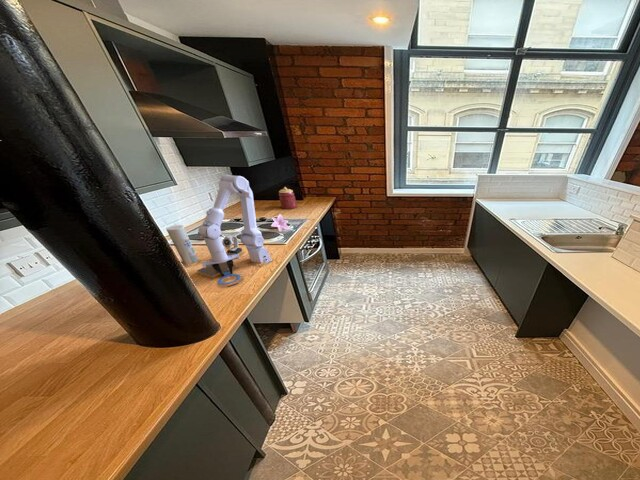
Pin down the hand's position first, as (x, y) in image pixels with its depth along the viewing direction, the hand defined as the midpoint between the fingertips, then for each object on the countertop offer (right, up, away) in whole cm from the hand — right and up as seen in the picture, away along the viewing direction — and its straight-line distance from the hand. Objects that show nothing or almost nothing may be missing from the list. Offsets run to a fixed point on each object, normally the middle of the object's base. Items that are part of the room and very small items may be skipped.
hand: (227, 275), depth 119 cm
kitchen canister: (-21, +61, +103) cm, 122 cm away
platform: (-9, +3, +5) cm, 11 cm away
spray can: (-27, +6, +11) cm, 30 cm away
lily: (-3, +32, +56) cm, 64 cm away
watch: (-11, +12, +21) cm, 26 cm away
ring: (+3, -2, -2) cm, 4 cm away
